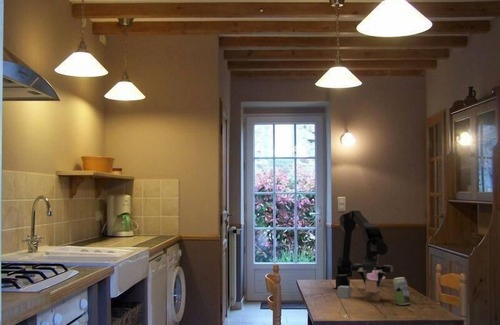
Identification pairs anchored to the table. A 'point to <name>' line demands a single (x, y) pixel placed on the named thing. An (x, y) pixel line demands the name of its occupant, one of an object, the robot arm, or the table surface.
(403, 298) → the beverage can
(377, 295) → the walnut block
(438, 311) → the table surface
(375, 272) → the lily
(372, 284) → the terracotta block
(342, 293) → the slate-grey block
